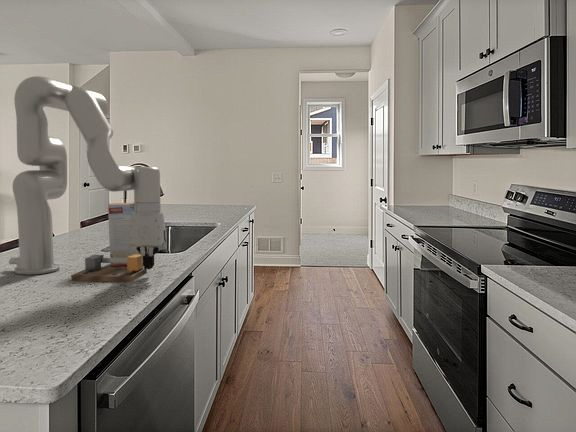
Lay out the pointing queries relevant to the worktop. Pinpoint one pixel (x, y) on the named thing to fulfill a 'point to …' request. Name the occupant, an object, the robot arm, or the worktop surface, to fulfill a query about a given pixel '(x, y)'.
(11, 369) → the worktop surface
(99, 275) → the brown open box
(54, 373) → the worktop surface
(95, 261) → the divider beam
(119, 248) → the cracker box
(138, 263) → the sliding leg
